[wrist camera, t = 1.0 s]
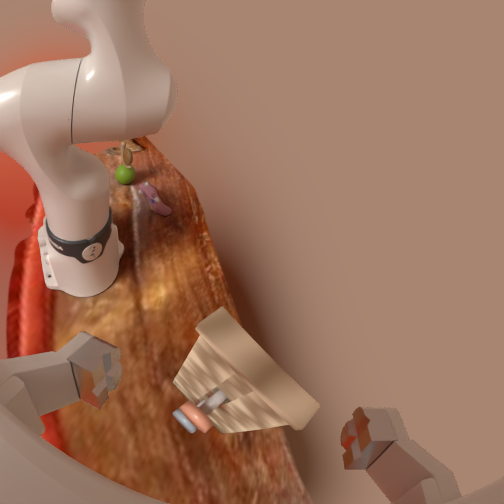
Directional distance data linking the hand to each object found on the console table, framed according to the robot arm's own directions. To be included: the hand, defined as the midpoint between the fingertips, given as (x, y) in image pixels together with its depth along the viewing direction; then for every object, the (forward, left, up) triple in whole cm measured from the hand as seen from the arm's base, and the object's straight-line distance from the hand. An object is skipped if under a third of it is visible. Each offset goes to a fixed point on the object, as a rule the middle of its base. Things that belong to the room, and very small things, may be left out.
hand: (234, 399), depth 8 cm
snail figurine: (-53, +26, -38) cm, 70 cm away
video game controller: (-41, +28, -38) cm, 63 cm away
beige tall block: (+1, +10, -38) cm, 39 cm away
